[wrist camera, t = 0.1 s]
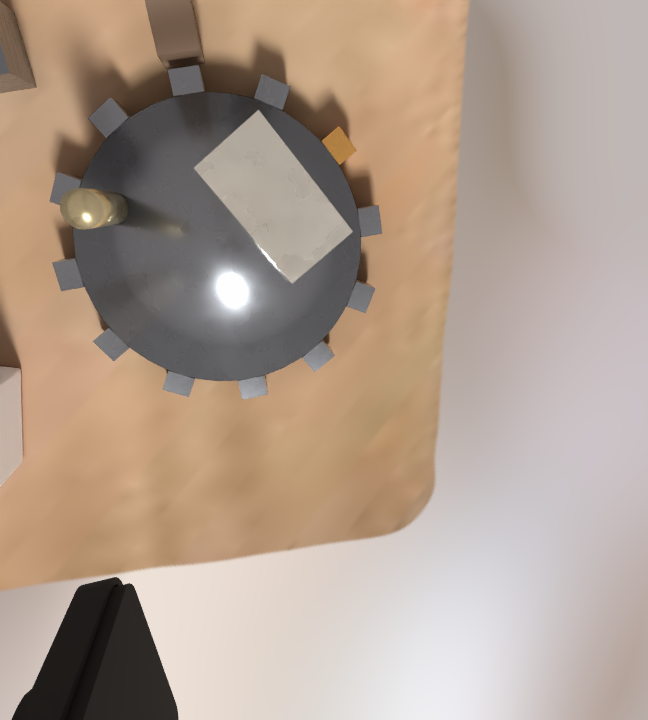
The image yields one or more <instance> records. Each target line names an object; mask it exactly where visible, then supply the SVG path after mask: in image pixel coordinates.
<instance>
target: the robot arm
mask: <svg viewBox="0 0 648 720" xmlns="http://www.w3.org/2000/svg"><path fill="white" fill-rule="evenodd" d="M12 720H178V711H177V706H176V702H175V700H174V697H173V694H172V691H171V688H170V686H169V683H168V680H167V677H166V674H165V672H164V669H163V666H162V663H161V660H160V658H159V655H158V652H157V649H156V646H155V644H154V641H153V638H152V635H151V632H150V629H149V627H148V624H147V621H146V618H145V616H144V613H143V610H142V607H141V604H140V601H139V599H138V596H137V593H136V591H135V588H134V586H133V585H132V584H130V583H129V584H125V585H123V584H122V582H121V580H120V579H119V578H117V577H114V578H110V579H106V580H102V581H97V582H93V583H89V584H85V585H81V586H80V587H79V588H78V589H77V591H76V592H75V594H74V597H73V599H72V601H71V603H70V606H69V608H68V610H67V612H66V615H65V617H64V619H63V621H62V623H61V626H60V628H59V630H58V632H57V634H56V637H55V639H54V641H53V643H52V646H51V648H50V650H49V653H48V654H47V657H46V659H45V661H44V663H43V666H42V668H41V670H40V672H39V675H38V677H37V679H36V681H35V684H34V686H33V688H32V689H31V690H30V691H29V692H28V693H27V694H25V695H24V697H23V698H22V700H21V702H20V704H19V705H18V707H17V709H16V711H15V713H14V715H13V718H12Z"/></svg>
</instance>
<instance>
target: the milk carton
mask: <svg viewBox="0 0 648 720" xmlns="http://www.w3.org/2000/svg"><path fill="white" fill-rule="evenodd" d="M22 461H23V440H22V401H21V370H20V369H19V368H13V367H1V366H0V487H1V485H2V484H3V483H4V482H5V481H6V480H7V479H8V477H9V476H10V475H11V474H12V473H13V472H14V470H15V469H16V468H17V467H18V466H19V465H20V464H21V462H22Z"/></svg>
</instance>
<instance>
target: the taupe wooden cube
mask: <svg viewBox="0 0 648 720" xmlns="http://www.w3.org/2000/svg"><path fill="white" fill-rule="evenodd" d="M145 3H146V8H147V12H148V16H149V21H150V25H151V29H152V34H153V38H154V42H155V47H156V51H157V55H158V57H159V59H160V60H161V62H162V63H163V65H164V66H165V68H171V67H178V66H185V65H191V64H198V63H205V62H204V57H203V52H202V48H201V43H200V38H199V33H198V28H197V23H196V19H195V14H194V9H193V5H192V2H191V0H145Z"/></svg>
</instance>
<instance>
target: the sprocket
mask: <svg viewBox="0 0 648 720" xmlns="http://www.w3.org/2000/svg"><path fill="white" fill-rule="evenodd" d="M168 74H169V79H170V83H171V87H172V92H173V96H174V97H172V98H168V99H166V100H163V101H161V102H158V103H156V104H153V105H151V106H149V107H147V108H145V109H144V110H142V111H140V112H138V113H137V114H135V115H133V116H132V117H130V115H129V114H128V113H127V112H126V111H125V110H124V108H123V107H122V106H121V105H120V104H119V103H118V102H117V101H115V100H114V99H113V98H111V97H110V98H109V99H108V100H107V101H106V102H105V103H103V104H102V105H101V106H100V107H99V108H98V109H97V110H96V111H95V112H94V113H93V114H92V115H91V116H89V117H88V119H89V120H90V121H91V122H92V123H93V124H94V125H95V126H96V128H97V129H98V130H99V131H100V132H101V133H102V134H103V135H104V137H105V138H107V139H106V140H105V142H104V143H103V144H102V146H101V147H100V148H99V150H98V151H97V153H96V154H95V156H94V157H93V159H92V160H91V162H90V164H89V166H88V169H87V171H86V173H85V175H84V177H83V179H82V178H79V177H76V176H74V175H71V174H68V173H62V172H57V173H56V177H55V181H54V185H53V189H52V194H51V198H50V202H53V203H56V204H58V205H60V210H61V214H62V216H63V218H64V219H65V221H66V222H67V223H68V224H69V225H71V226H72V227H73V237H74V248H75V256H76V257H73V258H67V259H62V260H59V261H56V262H53V267H54V270H55V273H56V276H57V279H58V282H59V285H60V288H61V291H65V290H70V289H76V288H82V287H85V289H86V291H87V293H88V295H89V297H90V299H91V301H92V303H93V304H94V306H95V308H96V310H97V311H98V312H99V314H100V315H101V317H102V318H103V320H104V321H105V322H106V324H107V325H108V326H109V328H108V329H106V330H105V331H104V332H103V333H102V334H101V335H100V336H98V337H97V338H96V339H95V340H94V341H93V342H94V343H95V344H96V345H97V346H98V347H99V348H100V349H101V350H102V351H104V352H105V353H106V354H107V355H108V356H109V357H110V358H111V359H112V360H113V361H115V360H116V359H117V358H118V357H119V356H120V355H121V354H123V353H124V352H125V351H126V350H127V349H128V348H129V347H130V348H131V349H133V350H134V351H135V352H137V353H138V354H140V355H141V356H143V357H144V358H146V359H147V360H149V361H151V362H153V363H155V364H157V365H159V366H161V367H163V368H165V369H167V370H169V371H168V374H167V377H166V380H165V384H164V387H163V390H166V391H170V392H173V393H176V394H180V395H183V396H187V397H189V395H190V392H191V389H192V386H193V382H194V379H195V378H197V379H204V380H213V381H235V380H238V383H239V387H240V391H241V396H242V399H247V398H252V397H257V396H262V395H267V394H268V391H267V383H266V378H265V375H266V374H269V373H271V372H274V371H276V370H279V369H281V368H284V367H286V366H287V365H289V364H291V363H293V362H295V361H296V360H298V359H300V358H301V357H302V358H303V359H304V360H305V362H306V363H307V364H308V365H309V366H310V367H311V368H312V369H313V371H314V372H316V371H317V370H318V369H319V368H320V367H322V366H323V365H324V364H325V363H326V362H328V361H329V360H330V359H331V358H332V357H334V356H335V355H334V354H333V352H332V350H331V348H330V347H329V346H328V345H327V343H326V342H325V341H324V340H323V338H324V337H325V336H326V335H327V334H328V333H329V331H330V330H331V329H332V328H333V326H334V325H335V324H336V322H337V321H338V319H339V317H340V316H341V314H342V313H343V311H344V309H345V307H346V306H347V307H350V308H353V309H355V310H358V311H361V312H364V313H366V311H367V308H368V305H369V303H370V300H371V298H372V295H373V293H374V290H375V288H374V287H373V286H371V285H370V284H368V283H365V282H362V281H359V280H357V279H356V278H357V273H358V268H359V262H360V250H361V237H365V236H371V235H376V234H382V228H381V220H380V213H379V205H370V206H364V207H358V208H356V204H355V201H354V198H353V195H352V192H351V189H350V186H349V184H348V182H347V180H346V178H345V176H344V174H343V172H342V170H341V168H340V167H339V165H340V164H341V163H343V162H344V161H345V160H346V159H347V158H348V157H350V156H351V155H352V154H353V153H354V152H355V151H356V149H355V147H354V146H353V144H352V143H351V142H350V140H349V139H348V138H347V136H346V135H345V133H344V132H343V131H342V129H341V128H340V127H339V126H338V127H337V128H336V129H335V130H333V131H332V132H331V133H330V134H329V135H328V136H327V137H325V138H324V139H323V140H322V141H320V140H319V139H318V138H317V137H316V136H315V135H314V134H313V133H311V132H310V131H309V130H308V129H307V128H306V127H305V126H304V125H303V124H301V123H300V122H298V121H297V120H295V119H294V118H292V117H291V116H290V115H288V114H287V113H285V112H283V111H282V110H283V107H284V104H285V101H286V98H287V95H288V92H289V89H290V86H288V85H286V84H284V83H281V82H279V81H277V80H275V79H272V78H270V77H268V76H266V75H263V74H261V77H260V81H259V84H258V87H257V90H256V93H255V97H254V99H252V98H250V97H245V96H240V95H235V94H230V93H216V92H205V87H204V82H203V77H202V73H201V70H200V68H199V65H195V66H189V67H182V68H175V69H169V70H168Z"/></svg>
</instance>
